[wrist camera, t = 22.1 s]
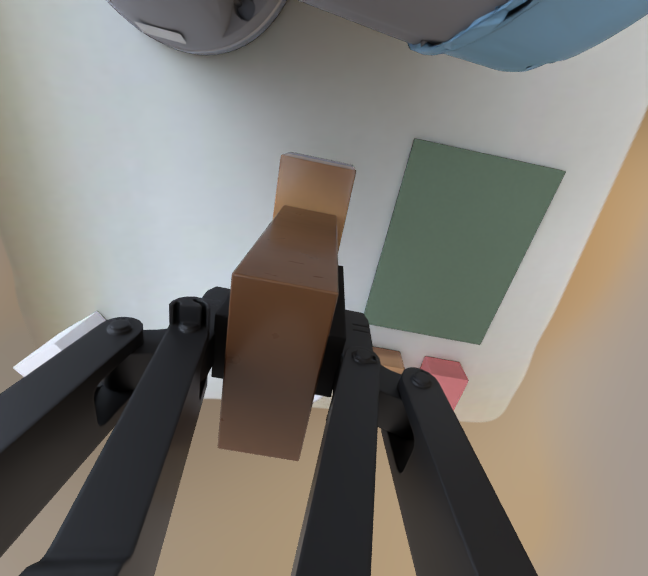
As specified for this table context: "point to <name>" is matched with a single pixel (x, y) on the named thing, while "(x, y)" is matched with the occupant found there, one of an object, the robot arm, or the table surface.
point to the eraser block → (447, 377)
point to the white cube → (58, 343)
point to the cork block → (390, 359)
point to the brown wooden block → (284, 311)
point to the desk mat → (456, 240)
